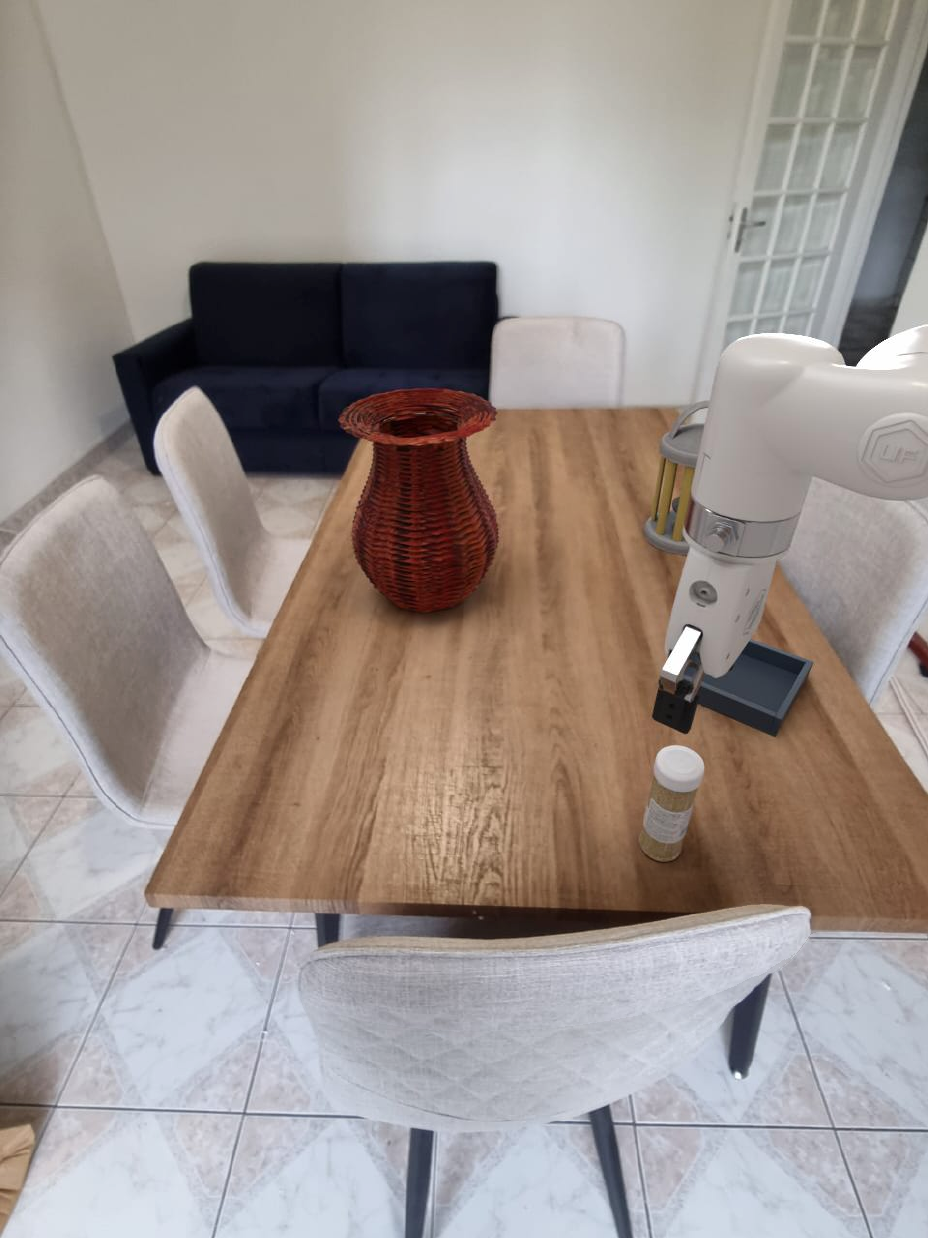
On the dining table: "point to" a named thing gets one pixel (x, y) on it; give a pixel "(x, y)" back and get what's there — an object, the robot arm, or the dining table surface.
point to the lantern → (682, 450)
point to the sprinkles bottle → (670, 802)
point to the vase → (422, 497)
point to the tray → (755, 686)
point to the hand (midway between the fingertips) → (693, 692)
